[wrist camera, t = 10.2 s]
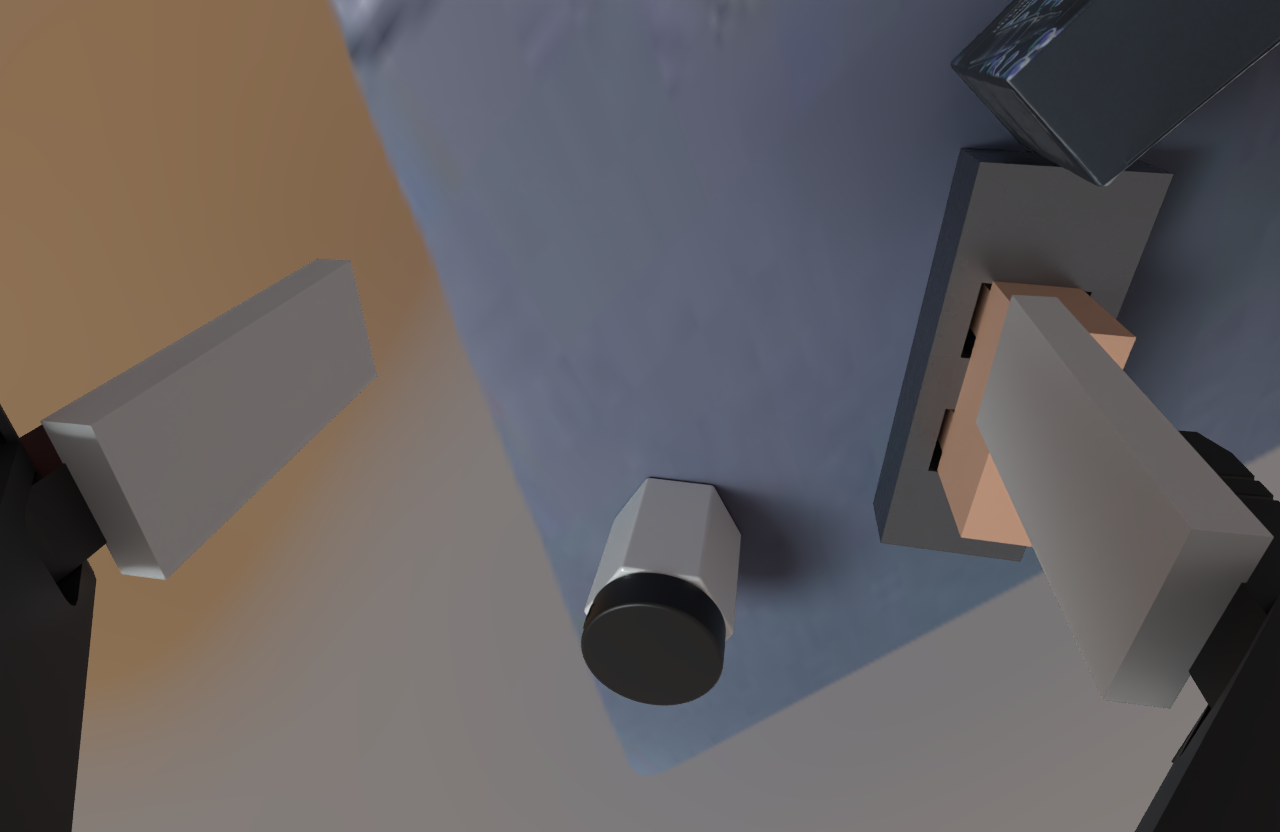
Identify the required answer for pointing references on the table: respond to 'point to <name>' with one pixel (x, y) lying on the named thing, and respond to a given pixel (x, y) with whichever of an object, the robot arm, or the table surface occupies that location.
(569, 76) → the table surface
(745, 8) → the table surface
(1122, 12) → the box
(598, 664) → the jar
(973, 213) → the grey slotted block
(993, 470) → the orange tan block
